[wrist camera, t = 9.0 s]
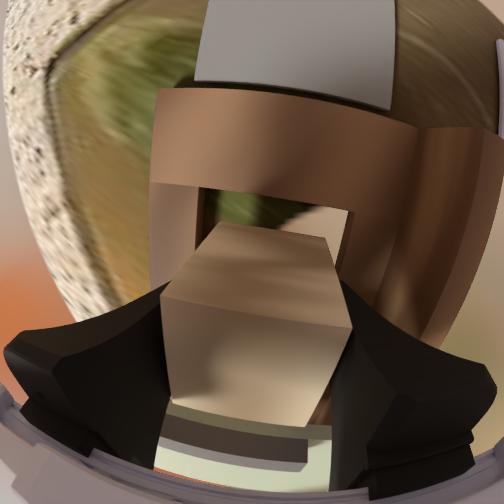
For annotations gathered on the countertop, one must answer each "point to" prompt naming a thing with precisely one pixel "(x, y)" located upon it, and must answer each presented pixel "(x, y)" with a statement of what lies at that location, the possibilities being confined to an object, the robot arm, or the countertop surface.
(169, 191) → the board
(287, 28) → the mat
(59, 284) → the countertop surface
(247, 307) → the block
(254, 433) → the cover
